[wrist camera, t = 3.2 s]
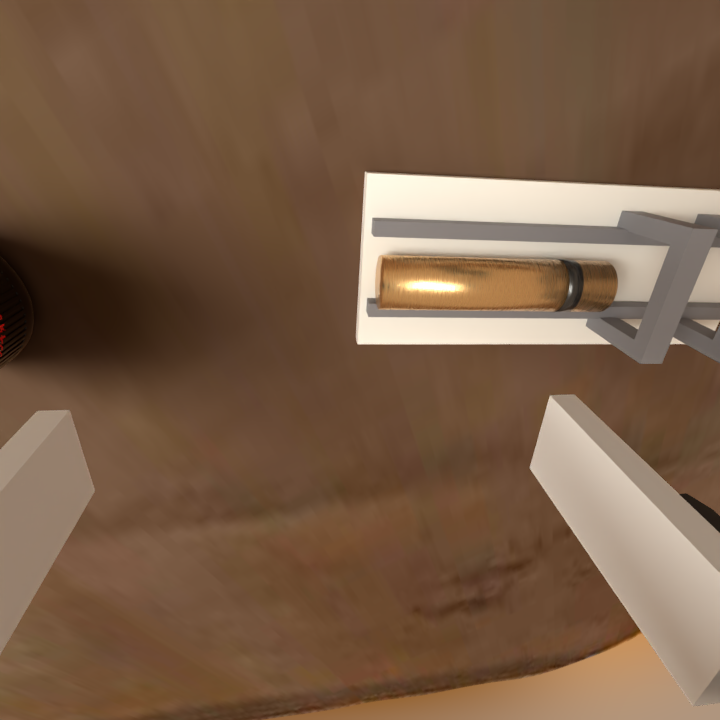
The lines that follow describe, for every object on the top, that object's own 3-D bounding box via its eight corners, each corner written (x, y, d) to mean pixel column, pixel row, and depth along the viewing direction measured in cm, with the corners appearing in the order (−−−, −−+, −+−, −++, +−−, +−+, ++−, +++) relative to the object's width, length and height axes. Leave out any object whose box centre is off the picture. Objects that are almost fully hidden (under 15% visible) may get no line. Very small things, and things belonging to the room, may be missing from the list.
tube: (373, 288, 32) (379, 321, 29) (379, 243, 29) (386, 275, 27) (577, 291, 34) (599, 323, 31) (600, 250, 31) (626, 280, 29)
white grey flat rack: (355, 337, 34) (368, 387, 28) (364, 171, 29) (383, 183, 22) (697, 338, 38) (781, 382, 31) (763, 191, 33) (882, 207, 26)
